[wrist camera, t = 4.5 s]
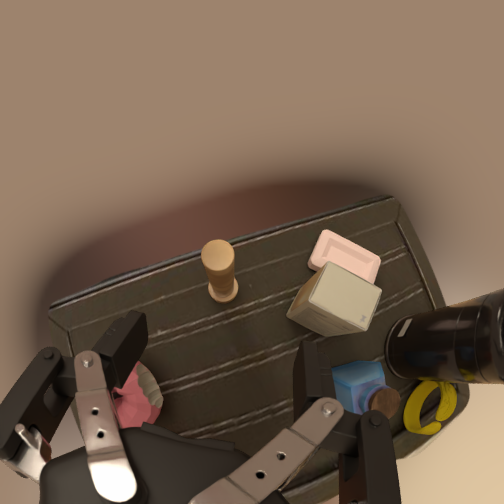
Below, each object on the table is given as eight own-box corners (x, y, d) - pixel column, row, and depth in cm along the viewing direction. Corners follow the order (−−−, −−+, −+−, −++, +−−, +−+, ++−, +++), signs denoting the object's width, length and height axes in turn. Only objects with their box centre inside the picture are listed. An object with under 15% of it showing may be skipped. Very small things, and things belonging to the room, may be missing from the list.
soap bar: (320, 234, 38) (324, 226, 36) (375, 262, 37) (382, 257, 35) (305, 267, 36) (309, 261, 34) (363, 296, 35) (371, 292, 33)
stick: (235, 273, 36) (236, 229, 22) (240, 300, 34) (245, 272, 21) (207, 278, 35) (191, 237, 22) (211, 305, 34) (198, 281, 21)
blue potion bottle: (314, 372, 32) (352, 383, 21) (357, 360, 33) (408, 363, 21) (321, 416, 30) (359, 443, 19) (364, 402, 31) (414, 420, 20)
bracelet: (411, 416, 31) (396, 413, 31) (440, 373, 30) (426, 368, 30) (429, 444, 24) (413, 442, 24) (464, 397, 23) (450, 393, 23)
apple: (180, 414, 29) (161, 438, 20) (122, 426, 28) (88, 448, 18) (155, 343, 32) (126, 342, 23) (98, 359, 30) (57, 360, 21)
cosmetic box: (340, 308, 35) (386, 290, 23) (326, 338, 34) (369, 333, 22) (298, 286, 36) (328, 257, 24) (282, 315, 34) (307, 300, 23)
